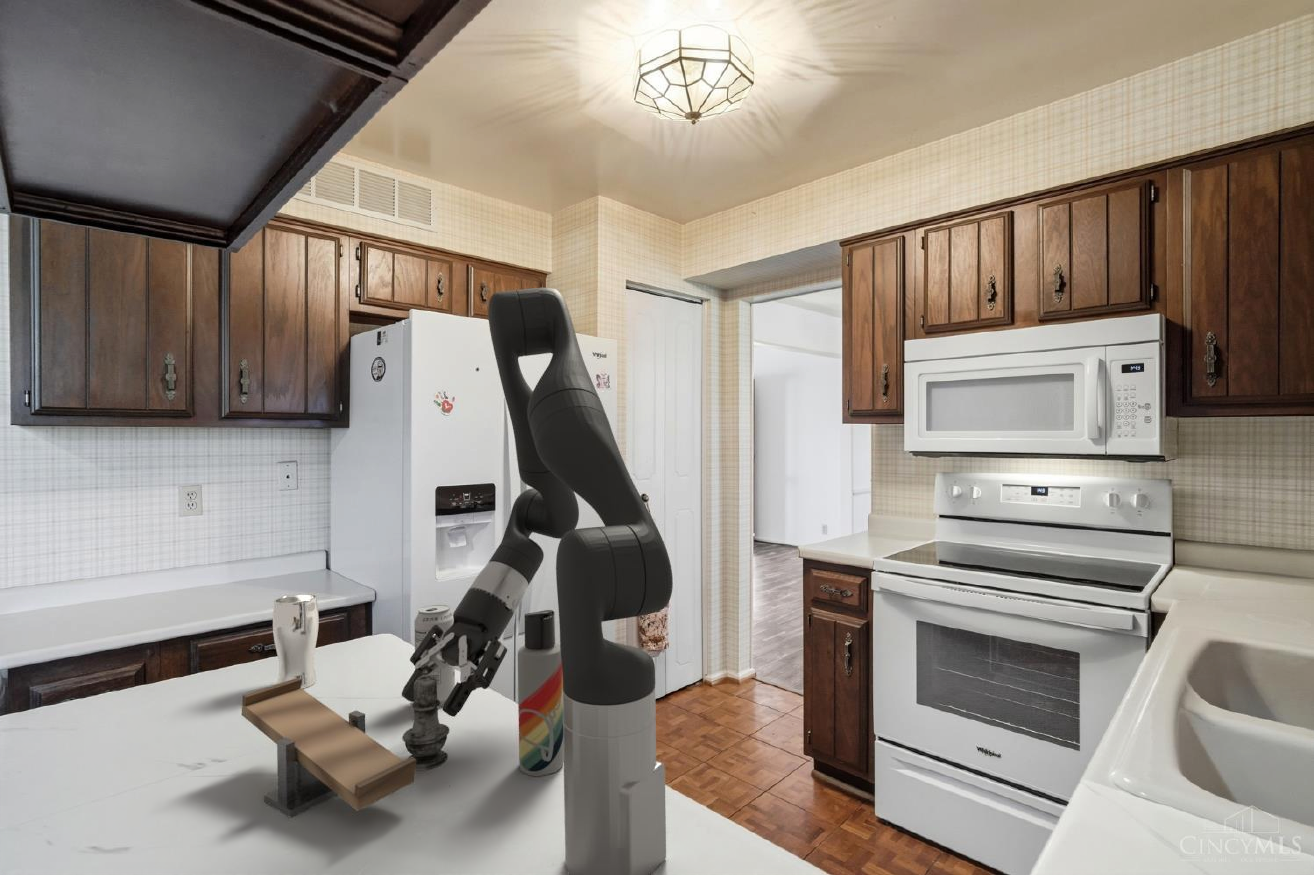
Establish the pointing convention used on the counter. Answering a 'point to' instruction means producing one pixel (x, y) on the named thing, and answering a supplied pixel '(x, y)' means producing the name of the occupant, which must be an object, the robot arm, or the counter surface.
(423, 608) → the energy drink can
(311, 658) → the beer glass
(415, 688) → the dark grey turned piece
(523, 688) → the lotion bottle
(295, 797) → the pivot stand
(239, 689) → the counter surface
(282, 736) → the beam
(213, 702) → the counter surface
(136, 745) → the counter surface
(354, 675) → the counter surface
